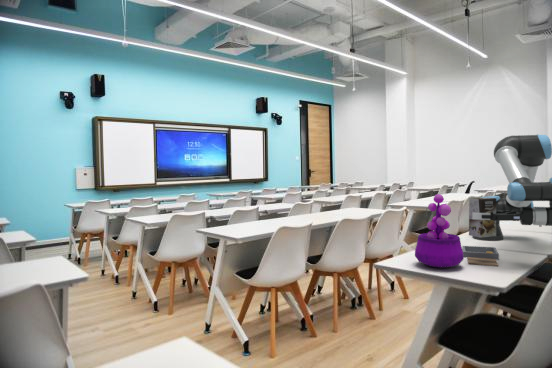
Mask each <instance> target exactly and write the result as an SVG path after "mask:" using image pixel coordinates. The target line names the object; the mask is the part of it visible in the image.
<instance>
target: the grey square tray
mask: <svg viewBox="0 0 552 368" xmlns="http://www.w3.org/2000/svg"><path fill="white" fill-rule="evenodd" d="M461 247H462V250H463V257H464V258H466V257H475V258H490V259H496V261H498V260H499V257H500V254H499V251H498V250H497V248H496V247H493V246H492V247H490V246H477V245H476V246H474V245H473V246H472V245H461Z"/></svg>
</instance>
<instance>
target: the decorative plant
mask: <svg viewBox="0 0 552 368" xmlns="http://www.w3.org/2000/svg"><path fill="white" fill-rule="evenodd" d="M444 200H445V199H444V196H443V194H440V193H438V194H437V193H436V194H435V195H434V196H433V201H434V202H431V203H429V204H428V205H427V206H428V207H427V208H428V210H429V211H430V212H435V216H433V217H432V219H431V220H430V221H428V222H427V224H426V226H427V229H428V230H429V231H428V232H426V233H425V232H424V233H420V234H418V236H417V241H416V246H415V250H414V257H415V259H417V261H418V262H419V263H422V264H424V265H426V266H429V267H432V268H433V267H434V268H441V269H442V268H451V267H454V266H458V265H460V264H461V263H462V262H463V261H464V258H465V257H463V250H462V243H461V237H460V236H459V235H457V234H452V233H447V232H445V230H448V229H449V228H450V226H451V224H450V222H449V221H448V220H447V219H446V218H445V217H447V216H448V215H450V214H451V212H452V209H451V206H450V205H448V204H447V203H443V202H444ZM441 203H443V204H441Z"/></svg>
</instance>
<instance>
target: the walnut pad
mask: <svg viewBox="0 0 552 368" xmlns="http://www.w3.org/2000/svg"><path fill="white" fill-rule="evenodd" d="M466 259H468V260H467V264H468V265H472V266H473V265H474V266H475V265H476V266H486V267H487V266H488V267H489V266H490V267H499V263H498V260H497V259H490V258H475V257H467V258H466Z"/></svg>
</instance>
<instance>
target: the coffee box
mask: <svg viewBox="0 0 552 368" xmlns="http://www.w3.org/2000/svg"><path fill="white" fill-rule="evenodd" d="M491 212H493V214H496V198H481V197H476V198H475V197H473V198H472V197H470V198H468V236H471V237H472V236H475V237H490V236H496V221H493V220H491V219H490V220H476V219H472V213H490V215H491Z"/></svg>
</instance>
